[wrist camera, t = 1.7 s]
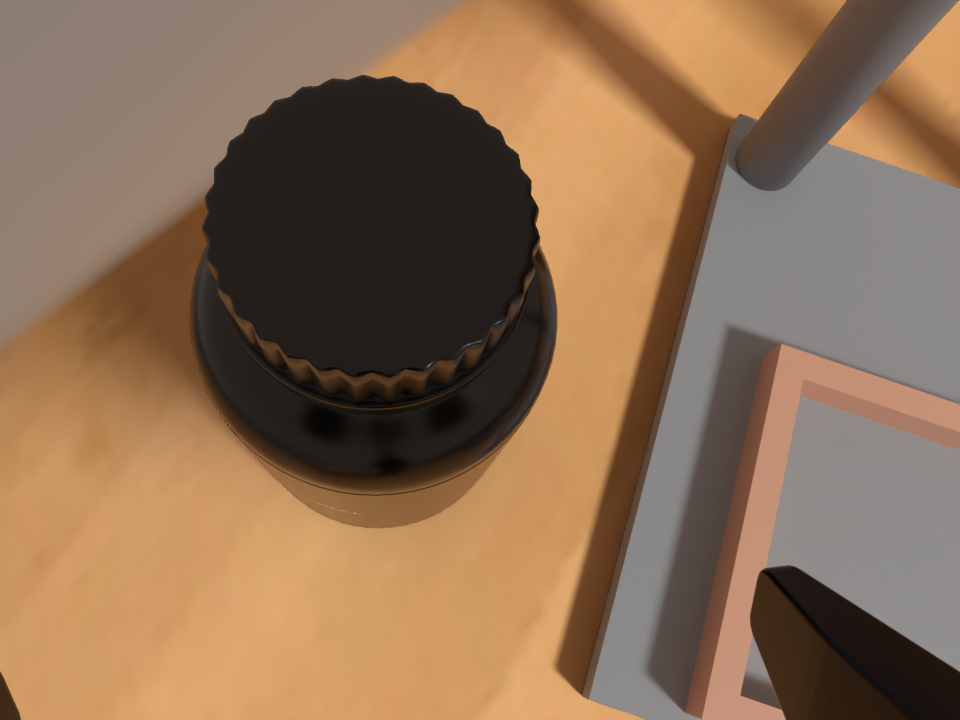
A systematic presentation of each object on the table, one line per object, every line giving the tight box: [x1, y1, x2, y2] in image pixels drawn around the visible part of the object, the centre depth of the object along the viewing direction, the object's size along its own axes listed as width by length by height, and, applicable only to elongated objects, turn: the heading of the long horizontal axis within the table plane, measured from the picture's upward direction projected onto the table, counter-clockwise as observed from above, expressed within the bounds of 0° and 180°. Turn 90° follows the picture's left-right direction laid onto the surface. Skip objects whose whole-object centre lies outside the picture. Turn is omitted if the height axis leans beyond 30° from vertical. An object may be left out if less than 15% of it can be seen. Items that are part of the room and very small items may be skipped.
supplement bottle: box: [190, 75, 557, 528], centre depth 17 cm, size 7×7×12 cm
